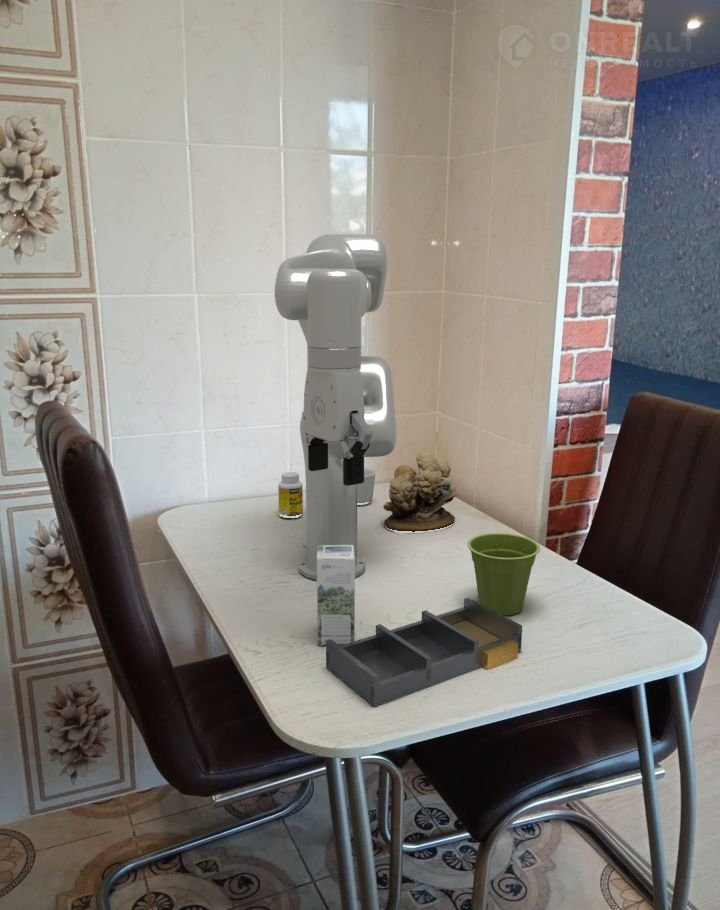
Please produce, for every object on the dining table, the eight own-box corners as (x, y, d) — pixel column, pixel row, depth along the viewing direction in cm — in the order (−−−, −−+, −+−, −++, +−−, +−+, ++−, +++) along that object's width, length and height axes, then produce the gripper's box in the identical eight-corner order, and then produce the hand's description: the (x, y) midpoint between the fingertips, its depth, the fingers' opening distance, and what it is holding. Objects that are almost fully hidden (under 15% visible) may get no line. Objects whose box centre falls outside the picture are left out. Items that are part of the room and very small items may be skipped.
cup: (328, 506, 182) (328, 474, 180) (335, 497, 189) (334, 466, 187) (372, 508, 180) (372, 476, 178) (377, 499, 188) (377, 468, 186)
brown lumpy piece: (440, 512, 178) (443, 442, 174) (469, 526, 168) (472, 453, 164) (373, 522, 170) (374, 449, 166) (399, 538, 160) (401, 461, 156)
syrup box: (354, 629, 118) (354, 542, 115) (355, 647, 113) (355, 556, 109) (317, 629, 118) (316, 543, 115) (317, 647, 113) (315, 557, 109)
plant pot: (452, 599, 129) (454, 538, 127) (509, 588, 134) (512, 529, 131) (489, 628, 119) (492, 562, 116) (551, 615, 123) (555, 551, 121)
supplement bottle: (289, 521, 170) (288, 478, 168) (274, 516, 174) (273, 473, 172) (307, 516, 174) (307, 474, 172) (292, 511, 178) (291, 469, 175)
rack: (326, 668, 107) (325, 640, 106) (466, 621, 121) (467, 597, 120) (378, 711, 96) (378, 681, 95) (525, 654, 110) (527, 628, 109)
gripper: (282, 355, 110) (284, 468, 114) (345, 367, 96) (345, 494, 100) (325, 353, 114) (326, 461, 118) (392, 363, 100) (390, 486, 104)
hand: (335, 476), depth 109 cm, fingers open, 9 cm apart
